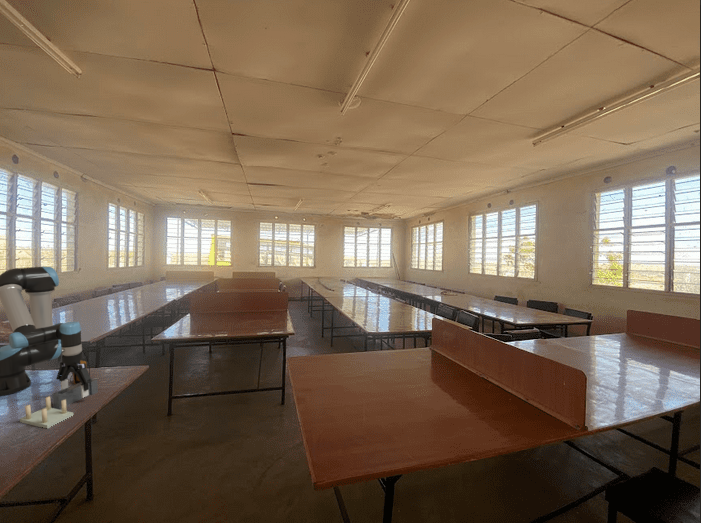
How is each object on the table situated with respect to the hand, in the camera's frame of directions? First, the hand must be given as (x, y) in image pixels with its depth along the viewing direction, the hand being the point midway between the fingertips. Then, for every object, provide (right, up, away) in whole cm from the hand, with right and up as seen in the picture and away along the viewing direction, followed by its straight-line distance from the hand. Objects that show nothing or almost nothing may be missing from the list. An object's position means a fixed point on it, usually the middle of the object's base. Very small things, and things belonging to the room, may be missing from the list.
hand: (75, 394), depth 154 cm
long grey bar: (0, -3, +1) cm, 3 cm away
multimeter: (-11, -1, +20) cm, 23 cm away
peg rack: (+1, -4, -15) cm, 16 cm away
